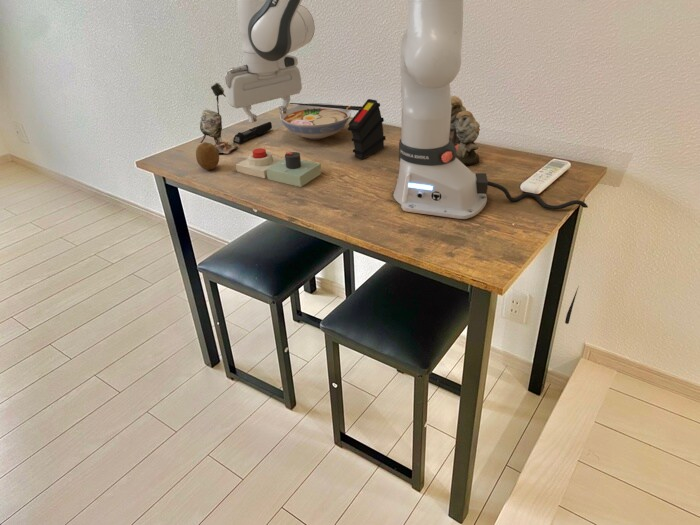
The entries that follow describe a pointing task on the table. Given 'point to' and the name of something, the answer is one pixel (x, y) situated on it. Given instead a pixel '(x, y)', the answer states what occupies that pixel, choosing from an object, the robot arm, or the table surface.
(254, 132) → the electric trimmer
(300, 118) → the ramen bowl
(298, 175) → the dial panel
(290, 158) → the dial
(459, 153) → the owl figurine
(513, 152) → the table surface
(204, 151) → the fruit
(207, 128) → the grey mottled tall figure
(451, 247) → the table surface
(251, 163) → the switch box
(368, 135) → the magazine
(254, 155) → the power button
